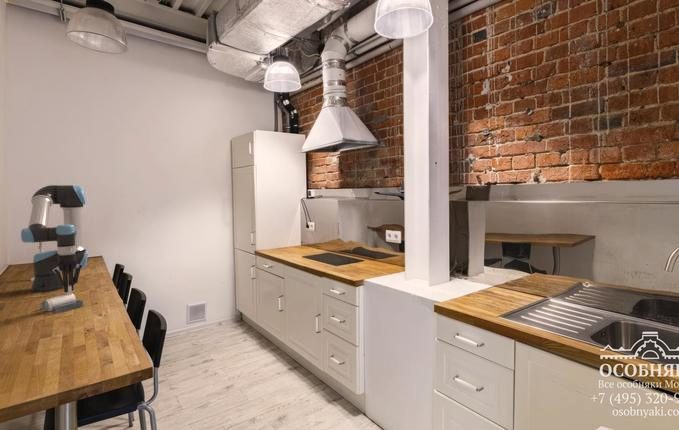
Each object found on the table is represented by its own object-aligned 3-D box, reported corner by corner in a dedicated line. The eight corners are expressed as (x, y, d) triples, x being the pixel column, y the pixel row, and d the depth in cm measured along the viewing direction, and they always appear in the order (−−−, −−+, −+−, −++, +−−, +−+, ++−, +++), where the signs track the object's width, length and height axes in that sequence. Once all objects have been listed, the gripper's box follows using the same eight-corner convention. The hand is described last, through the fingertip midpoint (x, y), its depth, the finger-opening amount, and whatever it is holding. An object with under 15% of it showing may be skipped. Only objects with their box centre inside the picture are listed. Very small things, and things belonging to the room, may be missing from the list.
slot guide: (40, 308, 172) (40, 303, 172) (67, 302, 183) (67, 296, 183) (55, 313, 166) (55, 307, 166) (82, 306, 177) (82, 301, 176)
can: (75, 293, 177) (48, 300, 167) (76, 305, 178) (50, 312, 167) (68, 292, 180) (41, 299, 169) (69, 304, 180) (43, 311, 170)
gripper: (56, 256, 168) (58, 302, 170) (84, 252, 180) (86, 295, 181) (48, 255, 171) (50, 300, 173) (76, 251, 183) (78, 293, 185)
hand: (69, 297), depth 177 cm, fingers closed
